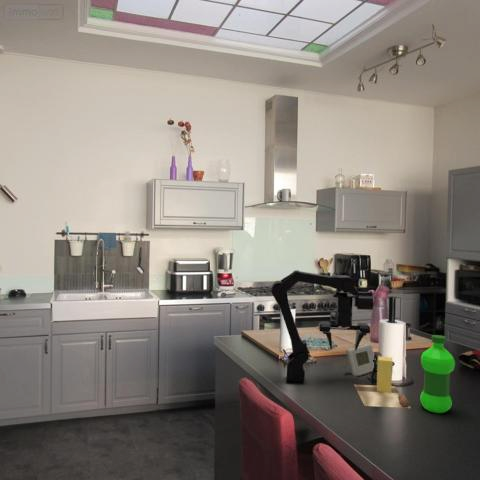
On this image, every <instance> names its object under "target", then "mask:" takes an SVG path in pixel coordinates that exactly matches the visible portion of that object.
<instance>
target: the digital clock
mask: <svg viewBox="0 0 480 480" xmlns="http://www.w3.org/2000/svg"><path fill="white" fill-rule="evenodd" d="M374 356H375V353H374V350H373V345H372V344H370V343H367V344H361V345H358V348H357V350H356V351H355V346H353V347H352V348H348V349H346V357H347V362H346V363H347V364H346V373H348V374H351V375H352V376H353V377H361V376H364V375H368V374H370V373H372V372H374V371H373V368H374V362H373V360H374Z"/></svg>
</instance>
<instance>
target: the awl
mask: <svg viewBox="0 0 480 480" xmlns="http://www.w3.org/2000/svg"><path fill="white" fill-rule="evenodd" d="M399 393H400V391H398V392H397V394H398V395H399V397H398V399H399V401H400V402H401V404H402V405H403V406H404V407H408V406H410V401H409V400H408V399H407V398H406V396H405V395H404V394H401V393H400V394H401V395H400V394H399Z"/></svg>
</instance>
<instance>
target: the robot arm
mask: <svg viewBox="0 0 480 480" xmlns="http://www.w3.org/2000/svg"><path fill="white" fill-rule="evenodd" d="M298 282H299V283H300V282H301V283H307V284H313V285H318V286H324V287H325V286H326V287H330V288H332V289H335V292H334V293H332V294H331V296H332V297H333V298H336V312H335V311H334V312H332V311H330V321H331V322H333V321H334V323H335V324H333V323H331V322H330V321H319V322H318V330H319V332H321V333H322V334H324V335H326V339H327V342H328V345H329V349H330V350H332V349H333V343H332V341H333V340H332V332H331V330H339V331H340V330H341V331H342V330H344V331H355V341H354V342H355V343H354V347H355V351H356V350H357V348H358V346H360V343H361V341H362V340H363V338H364V337H365V336H367V335H368V334H370V333H371V327H370V325H369V324H368V323H367V322H357V324H353V307H354V308H356V310H360V311H361V310H362V311H363V310H364V311H365V310H366V311H372V310H374V306H375V304H374V297H373V292H372V291H358V289H356V287H355V282H354V280H353V279H352V278H351V277H350V276H348V275H347V274H346V275H343V274H342V275H341V274H339V275H338V274H337V275H335V274H334V275H325V274H318V273H314V272H313V273H312V272H306V271H301V270H298V269H297V270H296V269H295V270H293V271H292V272H291V273H289V274H288V275H286V276H285V277H284V278H282V279H280V280H275V281H273V283H272V284H271V288H270V289H271V291H270V292H271V294H272V296H273V298H274V299H275V302H276V303H277V305H278V307H279V309H280V311H281V315H282V318H283V321H284V324H285V327H286V331H287V333H288V336H289V339H290V343H291V344H290V345H291V350H292V351H291V353H289V355H287V357H286V358H287V363H286V371H285V372H286V376H285V382H286V384H292V385H293V384H294V385H296V384H297V385H303V384H304V383H305V380H306V379H305V378H306V377H305V376H306V370H305V368H304V364H306V363H307V362H308V361H309V358H310V356H309V355H310V354H311V352H310V350H309V347H308V344H307V340H306V339H303V340H302V338H301V337H300V334H299V331H298V328H297V324H296V322H295V319H294V316H293V312H292V310H291V307H290V303H289V297H288V291H289V290H290V289H291V288H293V287H294V286H295V285H296V284H298ZM339 291H341V292H339ZM348 293H350V294H351V295H350V294H348Z"/></svg>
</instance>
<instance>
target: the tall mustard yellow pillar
mask: <svg viewBox="0 0 480 480" xmlns="http://www.w3.org/2000/svg"><path fill="white" fill-rule="evenodd" d="M393 363H394V362H393V357H388V356H377V369H376V371H377V372H376V373H377V375H376V378H377V379H376V386H377V392H386V393H391V386H392V383H393V382H392V381H393V380H392V379H393V377H392V376H393V367H394V365H393Z"/></svg>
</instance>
